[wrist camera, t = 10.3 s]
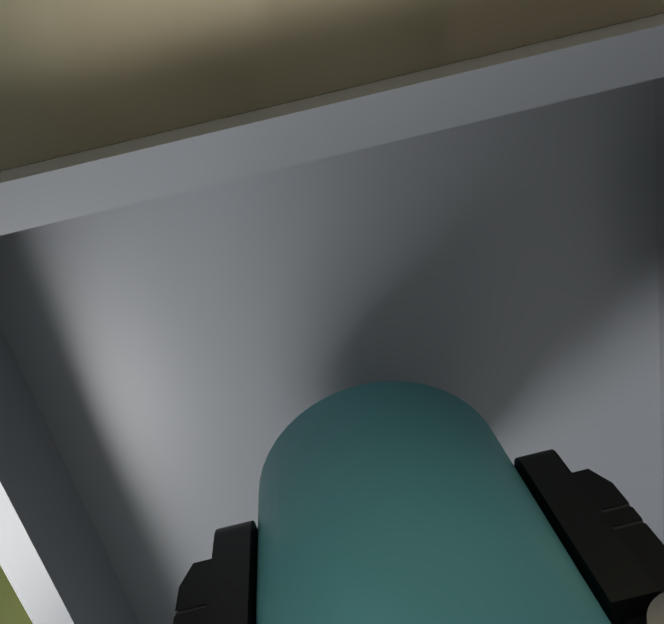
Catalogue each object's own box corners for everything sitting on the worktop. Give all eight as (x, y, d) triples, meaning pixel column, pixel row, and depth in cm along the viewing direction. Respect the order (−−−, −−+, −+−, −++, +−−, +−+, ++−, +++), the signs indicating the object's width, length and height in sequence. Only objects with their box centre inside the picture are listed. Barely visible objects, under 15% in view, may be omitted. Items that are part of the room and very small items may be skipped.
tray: (674, 10, 13) (787, -6, 10) (678, 584, 19) (749, 674, 16) (-88, 192, 13) (-188, 227, 10) (162, 710, 19) (143, 822, 16)
